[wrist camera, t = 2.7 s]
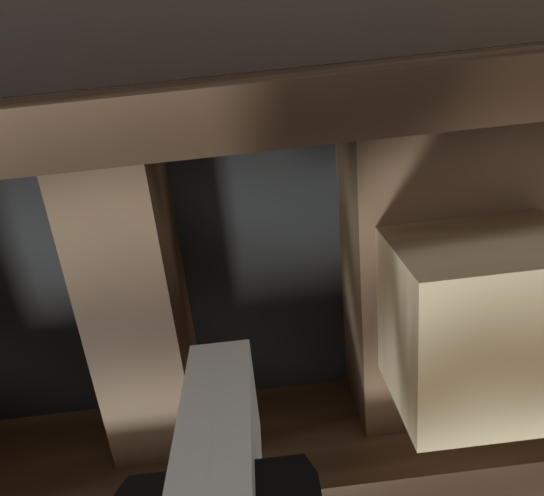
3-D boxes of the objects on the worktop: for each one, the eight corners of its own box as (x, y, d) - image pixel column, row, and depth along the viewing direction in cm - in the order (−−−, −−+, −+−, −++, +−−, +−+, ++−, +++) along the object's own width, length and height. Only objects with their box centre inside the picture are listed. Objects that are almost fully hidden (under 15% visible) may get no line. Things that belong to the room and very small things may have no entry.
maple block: (375, 226, 15) (419, 283, 12) (537, 208, 15) (632, 259, 12) (378, 365, 17) (416, 453, 13) (523, 349, 17) (602, 430, 14)
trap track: (-160, 115, 17) (-355, 146, 11) (769, 18, 18) (1012, 3, 12) (-28, 446, 22) (-118, 580, 17) (686, 362, 23) (830, 462, 17)
